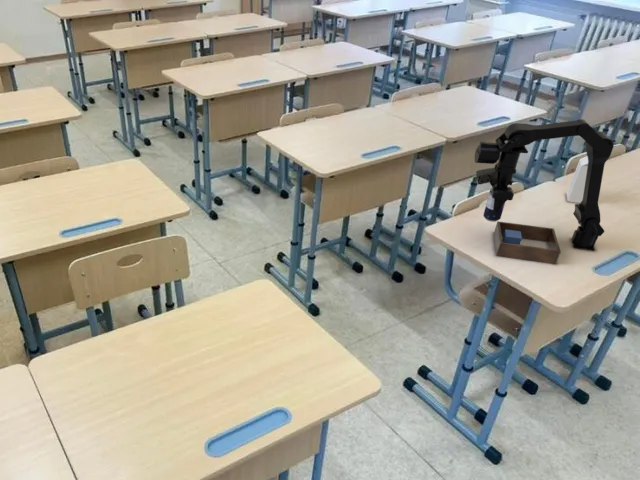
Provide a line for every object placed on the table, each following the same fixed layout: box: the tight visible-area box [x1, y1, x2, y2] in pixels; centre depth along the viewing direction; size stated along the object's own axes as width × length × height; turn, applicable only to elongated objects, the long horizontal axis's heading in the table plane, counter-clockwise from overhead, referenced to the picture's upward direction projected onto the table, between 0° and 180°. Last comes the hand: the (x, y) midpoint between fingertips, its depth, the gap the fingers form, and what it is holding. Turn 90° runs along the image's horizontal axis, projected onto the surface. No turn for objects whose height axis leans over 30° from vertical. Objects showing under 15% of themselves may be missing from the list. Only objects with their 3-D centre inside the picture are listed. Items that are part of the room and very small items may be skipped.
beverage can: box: [483, 185, 506, 223], centre depth 189 cm, size 6×6×12 cm
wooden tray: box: [493, 220, 561, 265], centre depth 190 cm, size 19×16×5 cm
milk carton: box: [566, 155, 588, 204], centre depth 214 cm, size 7×7×19 cm
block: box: [502, 229, 523, 245], centre depth 191 cm, size 5×5×5 cm
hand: (494, 206), depth 190 cm, fingers closed on beverage can, 6 cm apart
